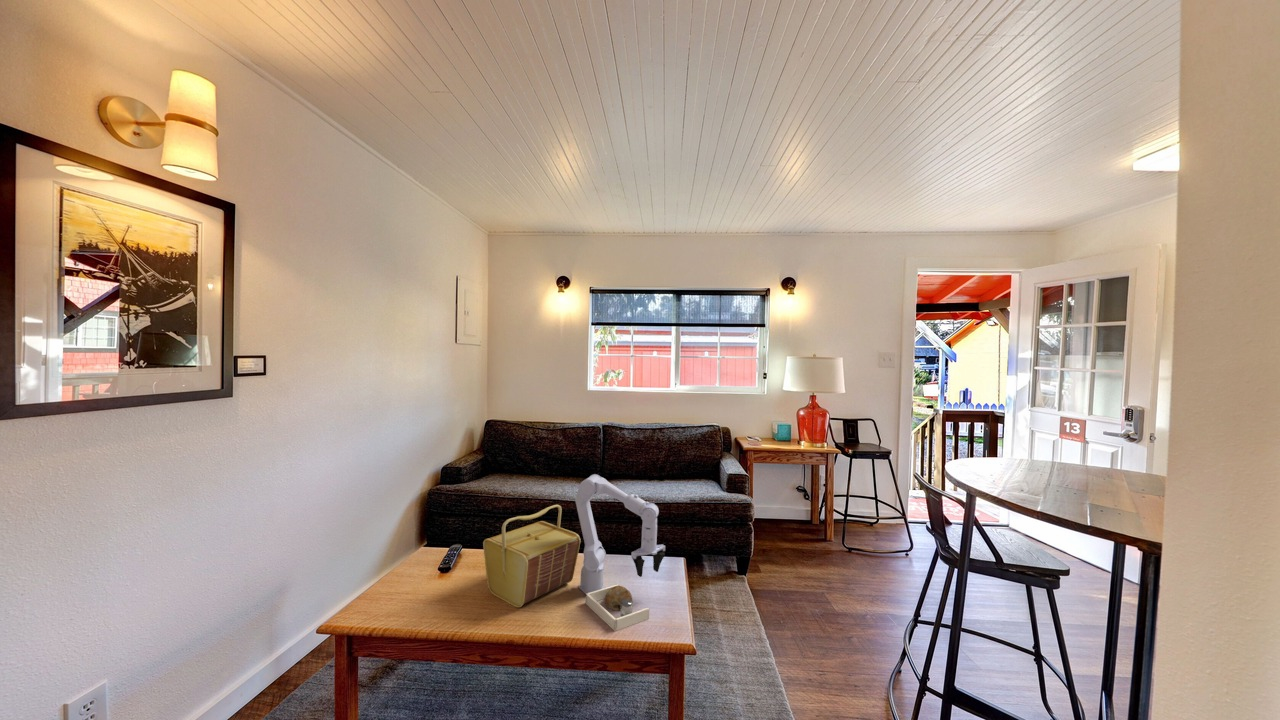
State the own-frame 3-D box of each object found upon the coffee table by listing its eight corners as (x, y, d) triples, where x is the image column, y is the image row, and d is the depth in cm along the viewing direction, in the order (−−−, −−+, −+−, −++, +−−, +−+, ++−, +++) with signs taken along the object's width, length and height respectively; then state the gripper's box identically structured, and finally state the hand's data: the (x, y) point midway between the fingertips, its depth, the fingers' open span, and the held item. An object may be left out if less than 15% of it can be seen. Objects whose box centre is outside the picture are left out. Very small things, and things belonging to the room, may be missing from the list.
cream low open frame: (585, 603, 167) (585, 593, 167) (617, 593, 175) (618, 584, 175) (614, 631, 150) (615, 620, 150) (648, 618, 159) (649, 608, 159)
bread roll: (605, 619, 164) (606, 604, 161) (603, 593, 173) (604, 579, 170) (632, 617, 166) (634, 602, 162) (628, 592, 175) (630, 577, 172)
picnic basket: (521, 616, 157) (525, 530, 157) (478, 591, 172) (481, 512, 173) (581, 585, 180) (584, 510, 180) (538, 565, 196) (540, 496, 196)
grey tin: (617, 618, 158) (618, 601, 158) (627, 614, 161) (628, 597, 161) (624, 624, 155) (625, 606, 155) (634, 620, 157) (635, 603, 157)
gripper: (639, 544, 164) (638, 582, 164) (670, 537, 172) (669, 572, 172) (628, 538, 170) (627, 574, 170) (659, 531, 178) (658, 565, 178)
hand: (647, 573), depth 171 cm, fingers open, 7 cm apart
